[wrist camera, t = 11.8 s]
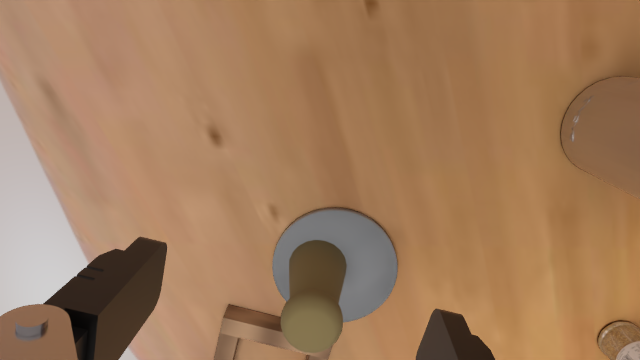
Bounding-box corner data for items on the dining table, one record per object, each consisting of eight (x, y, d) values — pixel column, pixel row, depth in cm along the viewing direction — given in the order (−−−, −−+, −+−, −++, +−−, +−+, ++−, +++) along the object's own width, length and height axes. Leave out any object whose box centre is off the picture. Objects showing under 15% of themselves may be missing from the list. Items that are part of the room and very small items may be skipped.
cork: (338, 297, 45) (337, 372, 35) (283, 284, 45) (265, 355, 35) (353, 247, 44) (357, 311, 33) (295, 233, 43) (281, 293, 33)
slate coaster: (412, 225, 44) (414, 229, 43) (375, 329, 48) (376, 335, 47) (289, 193, 43) (288, 196, 42) (262, 300, 47) (260, 306, 46)
